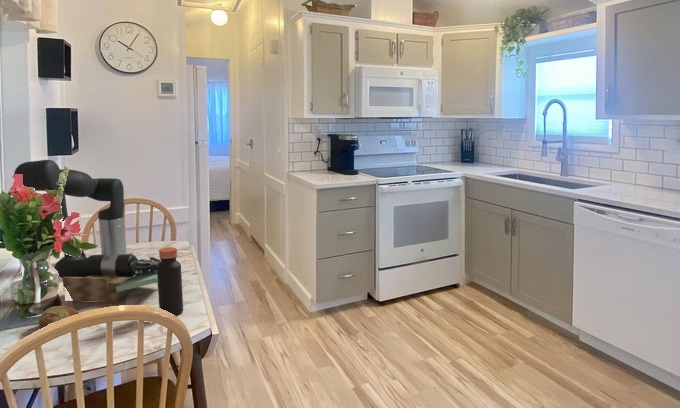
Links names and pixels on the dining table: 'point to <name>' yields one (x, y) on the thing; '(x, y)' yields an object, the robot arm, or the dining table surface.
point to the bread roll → (55, 315)
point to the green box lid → (137, 281)
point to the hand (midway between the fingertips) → (170, 266)
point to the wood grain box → (94, 288)
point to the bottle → (170, 281)
